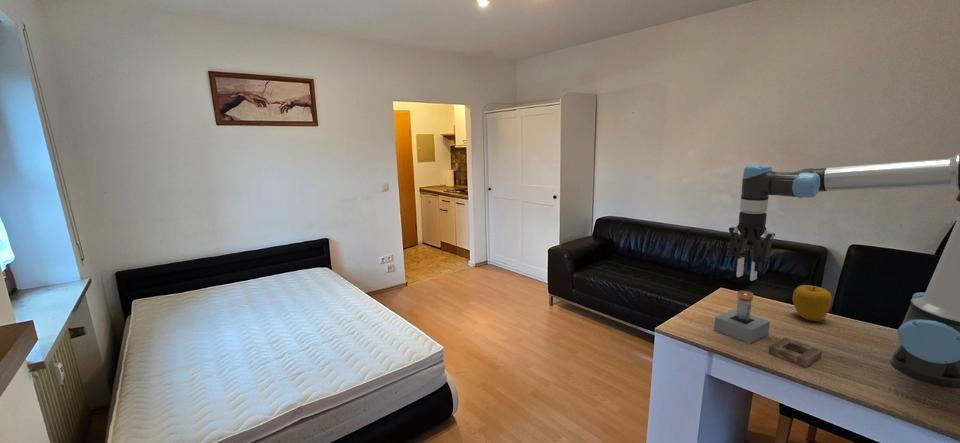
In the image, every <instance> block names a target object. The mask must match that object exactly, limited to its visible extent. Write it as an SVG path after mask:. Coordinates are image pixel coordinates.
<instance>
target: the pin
mask: <svg viewBox="0 0 960 443" xmlns="http://www.w3.org/2000/svg"><path fill="white" fill-rule="evenodd" d="M736 298H737V306H736V310H737V313H736V321H739V322H741V323H744V324H748V323H749V321H750V315H751V313H752V312H751V309H752V303H753V302H752V301H753V300H754V293H753V292H751V291H748V290H738V291H737V294H736Z"/></svg>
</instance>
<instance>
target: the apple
mask: <svg viewBox="0 0 960 443" xmlns="http://www.w3.org/2000/svg"><path fill="white" fill-rule="evenodd" d="M792 293H793V294H792V303H793V306H794V308H795V310H796V312H797V314H798V315H799V316H800V317H801V318H803V319H804V320H807V321H811V322H821V321H823V320H824V318H825V317H826V316H827V315H828V312H829V310H830V308H831V304H832V302H833V296H832V293H831V292H830V291H828V290H827V289H825V288H822V287H820V286H816V285H809V284H802V285H798V286H797V287H796V288H795V289H794V290H793V292H792Z"/></svg>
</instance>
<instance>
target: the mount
mask: <svg viewBox="0 0 960 443" xmlns="http://www.w3.org/2000/svg"><path fill="white" fill-rule="evenodd" d="M767 351H768V354H770V355H772V356H775V357H777V358H780V359H782V360H785V361H788V362H790V363H793V364H795V365H798V366H800V367H803V368H805V369H806V368H808V367H809V366H811V365H813V364H814V363H816V362H817V361H819V360H821V358H822V356H823V350H822V349H818V348H816V347H814V346H810V345H809V344H808V345H807V344H804V343H802V342H799V341H797V340H794V339H791V338H788V337H783V338H781V339H779V340H777V341H776V342H774V343H772V344H770V345H768V350H767Z"/></svg>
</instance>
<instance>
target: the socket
mask: <svg viewBox="0 0 960 443" xmlns="http://www.w3.org/2000/svg"><path fill="white" fill-rule="evenodd" d="M736 313H737V309H736V308H735V309H731V310H729V311H727V312H724V313H721V314H720V315H717V316H715V317H714V324H713V325H714V327H713V330H714V331H716V332H719V333H721V334H723V335H727V336H728V337H731V338H734V339H736V340H739V341H741V342H744V343H746V344H749V345H751V344H752V343H755V342H757V341H759V340H761V339H762V338H764V337H766V336H768V335H769V334H770V333H769V332H770V326H771V325H770V324H771V321H770V320H768V319H764V318H761V317H758V316H755V315H752V314H750V321H749V323H748V324H744V323H741V322H739V321H736Z"/></svg>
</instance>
